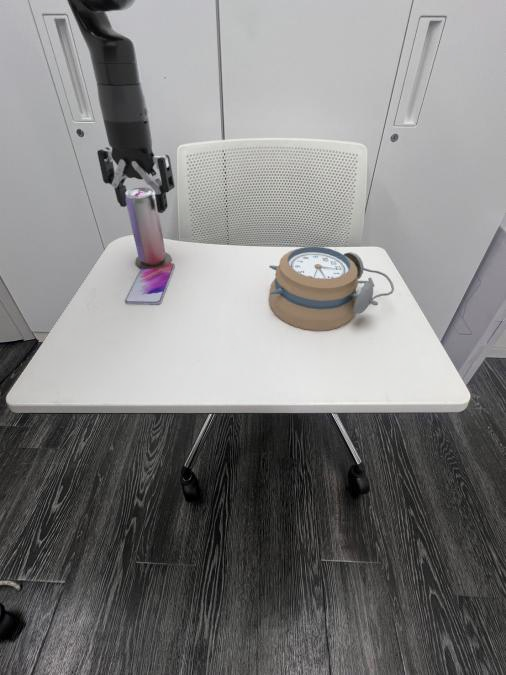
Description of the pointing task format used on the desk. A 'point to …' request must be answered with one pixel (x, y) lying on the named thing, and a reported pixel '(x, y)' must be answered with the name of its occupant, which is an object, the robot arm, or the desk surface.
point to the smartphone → (150, 286)
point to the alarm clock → (320, 288)
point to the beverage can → (145, 225)
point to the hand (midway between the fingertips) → (143, 208)
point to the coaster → (141, 265)
